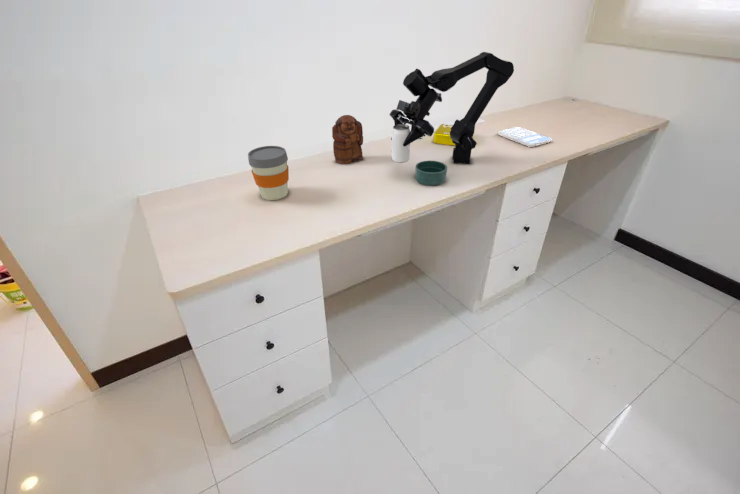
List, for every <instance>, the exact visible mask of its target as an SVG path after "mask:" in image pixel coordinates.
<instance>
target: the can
mask: <svg viewBox="0 0 740 494" xmlns="http://www.w3.org/2000/svg"><path fill="white" fill-rule="evenodd" d="M394 125H395V124H394ZM394 125H393V126H392V129H391V137H392V140H391V160H392V162H394V163H398V164H403V163H407V162H409V160H410V154H411V153H410V151H411V143H410V144H408V145H407V146H403V143H404V141H405V139H406V138H407V136H408V135H409V133H410V131H411V128H410V125H409V124H405V125H404V124H398V125H395V126H394Z"/></svg>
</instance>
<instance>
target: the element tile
mask: <svg viewBox="0 0 740 494" xmlns="http://www.w3.org/2000/svg"><path fill="white" fill-rule="evenodd" d="M453 125H454V124H449V123H442V124H440V125H439V126H438V127H437V129H436V130H434V133H433V143H434V144H438V145H446V146H454V147H455V144H454V143H453V142H452V139H451V138H450V131H451V129H450V128H451V127H452V126H453Z"/></svg>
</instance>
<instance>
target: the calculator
mask: <svg viewBox="0 0 740 494" xmlns="http://www.w3.org/2000/svg"><path fill="white" fill-rule="evenodd" d="M498 136H500V137H503V138H505V139H508V140H511V141H513V142H516V143H518V144H521V145H523V146H526V147H527V148H528V147H529V148H535V147H539V146H542V145H546V144H549V143H551V142H552V141H553V139H552V138H551V137H549V136H546V135H543V134H540V133H538V132H535V131H532V130H529V129H526V128H523V127H520V126H515V127H511V128H507V129H503V130H499V131H498Z"/></svg>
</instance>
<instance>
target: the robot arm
mask: <svg viewBox="0 0 740 494" xmlns="http://www.w3.org/2000/svg"><path fill="white" fill-rule="evenodd" d="M514 67H515V66H514V63H513V62H512V61H508V60H505V59H501V58H500V57H498V56H496V55H494V54H493V53H491V52H488V51H482V52H480V53H478V55H476V56H474V57H471V58H470V59H467V60H465V61H463V62H461V63H459V64H457V65H455V66H453V67H448V68H442V69H438V70H434V71H433V72H432V73H431V74H430V75H427V76H425V75H424V73H423V72H422V70H421V69H419V68H415V69H414V70H413V71H411V72H410V73H409V74H407V75H406V76H405V77H404V79H403V82H402V85H403V86H404V88H406V89H407V90H408V91H409V92H410V94H412V96H413V97H417V98H416V99H415V101H413V100H412V101H410V102H407V101H404V100H401V99H399V100H398V103H397V106H396V109H392V110H391V111H390V113H389V116H390V117H391V118H392V120H393V122H394V125H393V126H395V125H398V124H404V125H409V126H410V133H409V135H408V136H407V138H406V139H405V141H404V143H403V146H407V145H408V144H410V145H411V143H413V142H415V141H416V140H418V139H419V140H420V138H423V137H426V136H429V137H432V136H433V135H434V132H435V127H434V126H433V125H432V124H431V123H430V121H429V120H426V119H425V117H426V116H427V117H429V116H430V115H431V113H430V110H431V109H432V107H433V106H434V104H435V103H436V102H439V103H442V102H443V98H442V93H445V92H447V91H449V90H451V89H452V88H454V87H455V86H456V85H457V83H458V82H459V81H460V80H463V79H464V78H466V77H468V76H470V75H472V74H474V73H476V72H478V71H480V70H482V69H487V72H486V78H485V83H484V84H483V86H482V87H481V89H480V91H479V93H478V94H477V95H476V97H475V98H474V100H473V102H472V104H471V106H470V107H469V108H468V110H467V112H466V114H465V115H464V117H463V118H461V119H455V121H454V122H453V124H452V125H453V126H452V127H451V128H450V129H451V131H450V138H451V139H452V142H453V143H454V144H455V146H454V147H453V148H452V156H451V159H452V161H453V163H454V164H465V165H466V164H468V165H469V164H471V157H472V150H473V149H475V148H476V146H477V142H476V140H475V139H474V138H473V136H474V134H475V129H476V124H477V122H478V121H479V119H480V117H481V116H482V114H483V113H484V111H485V109H486V108H487V107H488V104H490V102H491V100H492V99H493V97H494V95H495V93H496V92H497V90H498V89H499V88H500V87H502V86H503V85H505V84H506V83H507V82H508V81H509V79H510V78H511V77H512V76H513V74H514V72H515V68H514ZM436 90H437V91H440V92H437V91H436ZM390 140H391V141H392V136H391V138H390Z"/></svg>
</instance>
